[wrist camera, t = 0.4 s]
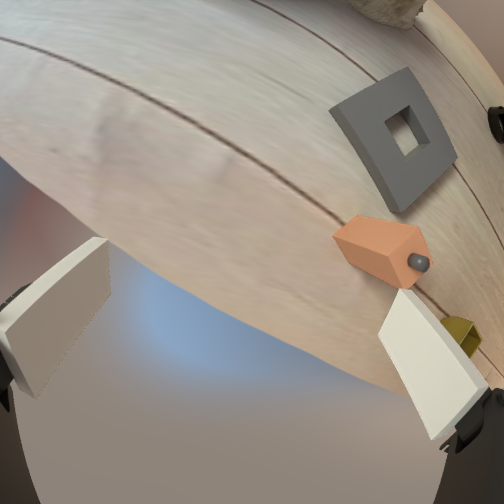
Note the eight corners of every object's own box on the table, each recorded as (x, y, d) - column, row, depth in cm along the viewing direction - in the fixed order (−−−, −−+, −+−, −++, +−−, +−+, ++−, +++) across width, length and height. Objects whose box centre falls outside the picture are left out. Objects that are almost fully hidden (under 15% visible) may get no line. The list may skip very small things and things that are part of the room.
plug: (332, 235, 38) (399, 261, 22) (357, 215, 38) (431, 229, 22) (348, 262, 39) (415, 298, 24) (372, 242, 39) (445, 267, 24)
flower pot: (445, 305, 45) (474, 321, 36) (457, 324, 47) (483, 340, 38) (420, 340, 45) (447, 360, 36) (434, 355, 47) (458, 375, 38)
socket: (328, 110, 34) (336, 104, 31) (398, 71, 34) (407, 66, 31) (390, 211, 39) (401, 213, 36) (446, 158, 38) (457, 157, 35)
